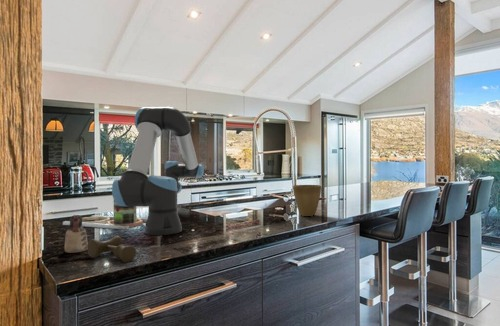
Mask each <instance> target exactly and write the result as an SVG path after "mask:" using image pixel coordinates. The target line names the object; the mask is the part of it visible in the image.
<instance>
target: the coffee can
mask: <svg viewBox="0 0 500 326" xmlns="http://www.w3.org/2000/svg"><path fill="white" fill-rule="evenodd" d="M113 216H114V224H129V223H135V222H136V218H137V206H128V207H126V206H119V205H117V204H116V203H115V201H114V200H113Z"/></svg>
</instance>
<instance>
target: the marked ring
mask: <svg viewBox="0 0 500 326" xmlns="http://www.w3.org/2000/svg"><path fill="white" fill-rule="evenodd" d="M106 224H113V225H127V226H129V228H132V227H135V228H136V227H138V226H141V225H143V224H144V222H143V221H142V220H141V219H136V222H135V223H129V224H114V220H110V221H108V222H107V223H106Z"/></svg>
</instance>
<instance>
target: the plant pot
mask: <svg viewBox="0 0 500 326" xmlns="http://www.w3.org/2000/svg"><path fill="white" fill-rule="evenodd" d="M292 188H293V189H292V190H293V194H294V195H293V196H294V200H295V204H296V207H297V210H298V213H299V215H300V216H301V215H302V216H301V217H304V216H311V217H314V216H313V215H315V216H316V213H317V209H318V208H319V207H318V206H319V202H320V198H321V191H322V185H320V184H296V185H295V184H294V185H292Z"/></svg>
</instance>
